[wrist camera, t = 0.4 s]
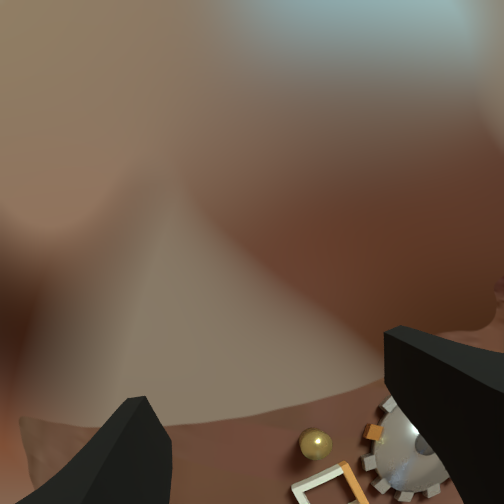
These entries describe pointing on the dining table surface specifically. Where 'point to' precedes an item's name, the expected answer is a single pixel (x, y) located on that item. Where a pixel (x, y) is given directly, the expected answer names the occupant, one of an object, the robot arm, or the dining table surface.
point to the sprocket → (401, 456)
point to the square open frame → (324, 476)
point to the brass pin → (315, 444)
